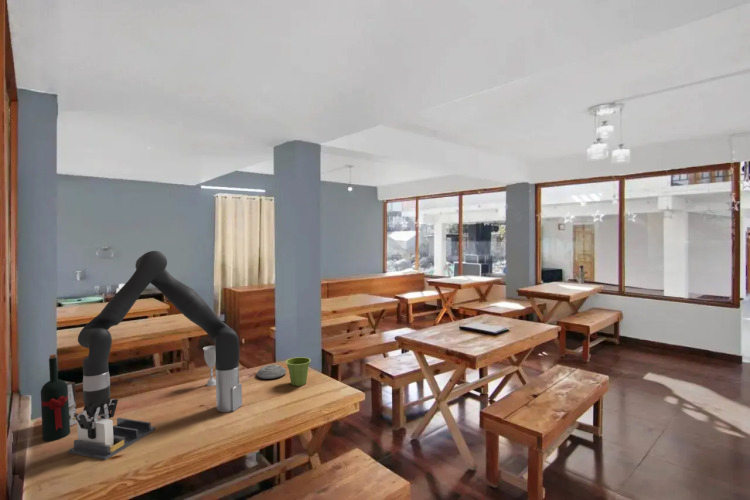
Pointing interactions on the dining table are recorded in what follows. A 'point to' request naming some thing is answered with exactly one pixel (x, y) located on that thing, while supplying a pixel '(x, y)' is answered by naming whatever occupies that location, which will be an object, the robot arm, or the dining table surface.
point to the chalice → (210, 362)
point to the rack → (122, 436)
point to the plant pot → (298, 370)
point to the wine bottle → (55, 405)
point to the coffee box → (71, 402)
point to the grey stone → (271, 371)
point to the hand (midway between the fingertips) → (98, 435)
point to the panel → (99, 432)
